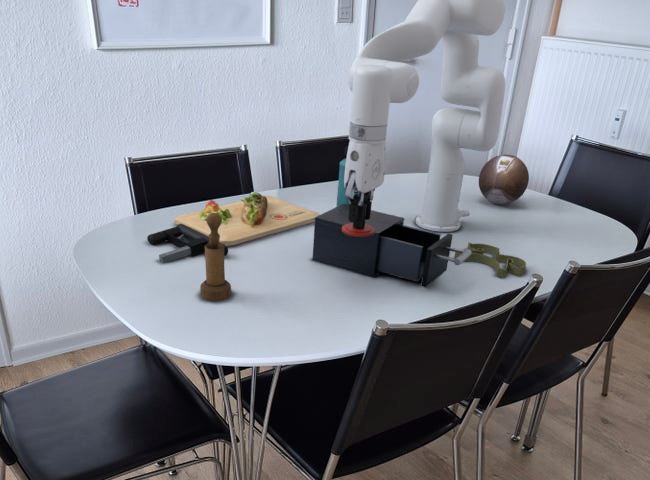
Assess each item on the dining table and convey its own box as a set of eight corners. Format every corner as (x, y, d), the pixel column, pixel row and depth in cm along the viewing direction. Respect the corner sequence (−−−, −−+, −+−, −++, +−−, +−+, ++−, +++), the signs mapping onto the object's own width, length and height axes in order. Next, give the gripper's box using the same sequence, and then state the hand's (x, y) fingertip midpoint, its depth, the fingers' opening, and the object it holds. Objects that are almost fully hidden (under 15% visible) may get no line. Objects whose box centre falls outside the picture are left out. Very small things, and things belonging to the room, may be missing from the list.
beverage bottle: (356, 222, 184) (363, 150, 174) (333, 220, 185) (338, 148, 175) (359, 215, 189) (366, 145, 179) (337, 213, 190) (342, 143, 180)
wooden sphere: (474, 207, 202) (483, 158, 194) (474, 193, 214) (483, 147, 206) (524, 213, 199) (535, 163, 191) (521, 199, 212) (531, 152, 204)
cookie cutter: (446, 257, 165) (448, 249, 164) (474, 247, 172) (475, 240, 171) (508, 281, 154) (510, 273, 153) (535, 269, 161) (536, 261, 160)
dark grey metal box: (398, 259, 162) (404, 217, 156) (373, 277, 152) (378, 233, 146) (340, 244, 169) (343, 203, 164) (312, 260, 159) (314, 217, 153)
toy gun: (176, 261, 148) (232, 242, 157) (131, 236, 160) (185, 220, 169) (177, 275, 150) (233, 255, 159) (132, 248, 162) (186, 232, 171)
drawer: (470, 276, 153) (477, 240, 148) (450, 294, 143) (457, 257, 139) (388, 254, 162) (392, 219, 157) (364, 270, 153) (368, 233, 148)
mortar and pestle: (201, 288, 142) (198, 208, 133) (231, 288, 143) (230, 208, 133) (199, 301, 136) (196, 218, 127) (230, 302, 137) (230, 219, 128)
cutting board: (226, 249, 162) (225, 220, 158) (171, 223, 176) (169, 196, 172) (323, 220, 184) (324, 194, 180) (267, 200, 198) (268, 175, 194)
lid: (335, 227, 143) (337, 199, 140) (363, 223, 146) (366, 195, 143) (352, 238, 138) (355, 209, 134) (381, 234, 141) (384, 205, 137)
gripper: (365, 142, 123) (356, 234, 133) (401, 129, 135) (391, 214, 145) (331, 135, 127) (325, 226, 136) (369, 123, 139) (361, 207, 148)
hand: (359, 219), depth 141 cm, fingers closed on lid, 2 cm apart
